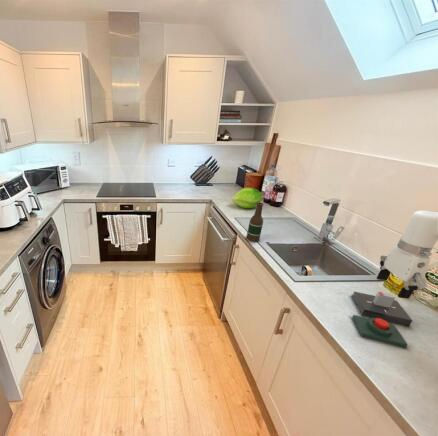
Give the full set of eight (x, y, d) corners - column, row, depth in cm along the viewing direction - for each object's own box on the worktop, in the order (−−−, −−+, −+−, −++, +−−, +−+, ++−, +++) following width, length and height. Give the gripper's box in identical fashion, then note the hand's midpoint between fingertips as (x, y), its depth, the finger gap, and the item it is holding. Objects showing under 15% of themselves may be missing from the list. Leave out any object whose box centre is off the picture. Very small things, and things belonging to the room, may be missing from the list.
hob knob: (387, 304, 92) (393, 294, 90) (389, 308, 91) (395, 297, 88) (372, 301, 94) (377, 291, 92) (374, 304, 92) (379, 294, 90)
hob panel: (393, 306, 96) (396, 300, 94) (408, 326, 86) (412, 320, 85) (351, 296, 100) (354, 291, 99) (361, 315, 91) (364, 309, 90)
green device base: (392, 327, 86) (396, 320, 84) (405, 348, 78) (410, 341, 77) (351, 317, 90) (355, 311, 89) (361, 336, 82) (364, 329, 81)
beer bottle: (257, 236, 150) (265, 201, 141) (261, 242, 143) (269, 205, 134) (245, 235, 152) (251, 200, 142) (247, 241, 145) (254, 205, 135)
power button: (384, 323, 84) (386, 319, 83) (389, 331, 81) (391, 327, 80) (371, 320, 85) (373, 316, 84) (376, 328, 82) (378, 324, 81)
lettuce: (229, 211, 204) (227, 192, 207) (259, 209, 202) (256, 190, 205) (235, 207, 186) (233, 186, 188) (268, 204, 184) (265, 183, 187)
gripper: (453, 263, 70) (425, 306, 77) (404, 236, 86) (384, 274, 93) (425, 260, 71) (400, 304, 78) (381, 234, 87) (363, 272, 93)
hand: (391, 288), depth 85 cm, fingers open, 9 cm apart
